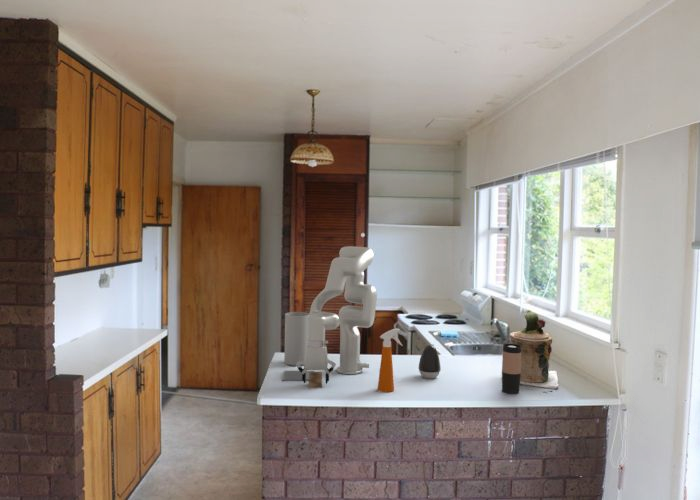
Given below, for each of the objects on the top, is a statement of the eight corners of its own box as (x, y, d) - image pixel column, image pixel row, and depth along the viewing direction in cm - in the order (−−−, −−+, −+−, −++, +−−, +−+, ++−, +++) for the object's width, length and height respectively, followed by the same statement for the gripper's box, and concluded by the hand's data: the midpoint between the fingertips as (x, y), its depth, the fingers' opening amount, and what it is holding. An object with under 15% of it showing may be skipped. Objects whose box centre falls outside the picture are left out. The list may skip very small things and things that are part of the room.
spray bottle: (404, 391, 220) (406, 329, 218) (380, 393, 217) (382, 330, 215) (398, 386, 226) (400, 326, 225) (375, 387, 223) (376, 327, 222)
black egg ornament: (442, 375, 244) (443, 343, 243) (437, 381, 235) (437, 348, 234) (422, 372, 248) (422, 341, 248) (415, 378, 239) (416, 345, 238)
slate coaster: (314, 372, 246) (314, 370, 246) (313, 380, 232) (313, 379, 232) (284, 371, 245) (284, 370, 245) (282, 380, 231) (282, 379, 231)
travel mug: (498, 388, 226) (500, 343, 225) (515, 388, 226) (517, 343, 225) (505, 394, 218) (506, 347, 217) (522, 394, 219) (524, 347, 218)
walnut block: (321, 384, 228) (322, 371, 227) (321, 387, 222) (322, 375, 222) (309, 384, 227) (309, 371, 227) (308, 387, 222) (309, 375, 222)
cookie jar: (500, 383, 234) (502, 313, 233) (503, 369, 258) (506, 305, 256) (559, 390, 226) (561, 317, 225) (557, 375, 249) (559, 309, 248)
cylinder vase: (302, 367, 253) (303, 316, 252) (280, 364, 258) (280, 314, 256) (313, 361, 265) (314, 313, 264) (291, 358, 269) (292, 311, 268)
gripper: (335, 341, 228) (335, 379, 229) (296, 341, 227) (296, 379, 228) (336, 345, 221) (335, 385, 221) (295, 345, 220) (295, 384, 221)
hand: (315, 382), depth 225 cm, fingers open, 9 cm apart
